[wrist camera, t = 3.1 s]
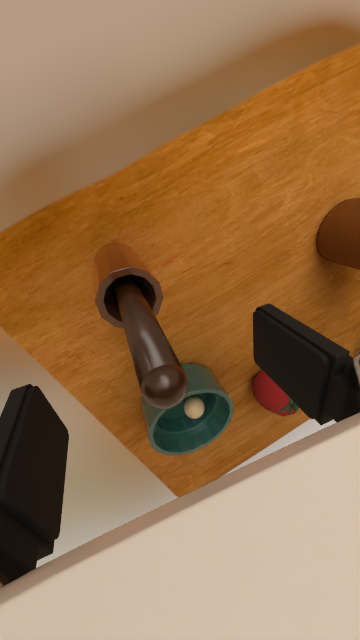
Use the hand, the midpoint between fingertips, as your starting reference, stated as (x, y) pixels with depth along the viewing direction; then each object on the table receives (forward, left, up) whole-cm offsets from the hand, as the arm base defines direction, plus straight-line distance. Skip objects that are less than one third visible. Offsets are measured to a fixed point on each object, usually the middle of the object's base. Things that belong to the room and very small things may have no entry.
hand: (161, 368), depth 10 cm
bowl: (+3, -20, -16) cm, 26 cm away
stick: (0, 0, -16) cm, 16 cm away
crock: (0, 0, -16) cm, 16 cm away
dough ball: (+4, -22, -14) cm, 26 cm away
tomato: (+18, -24, -16) cm, 34 cm away
